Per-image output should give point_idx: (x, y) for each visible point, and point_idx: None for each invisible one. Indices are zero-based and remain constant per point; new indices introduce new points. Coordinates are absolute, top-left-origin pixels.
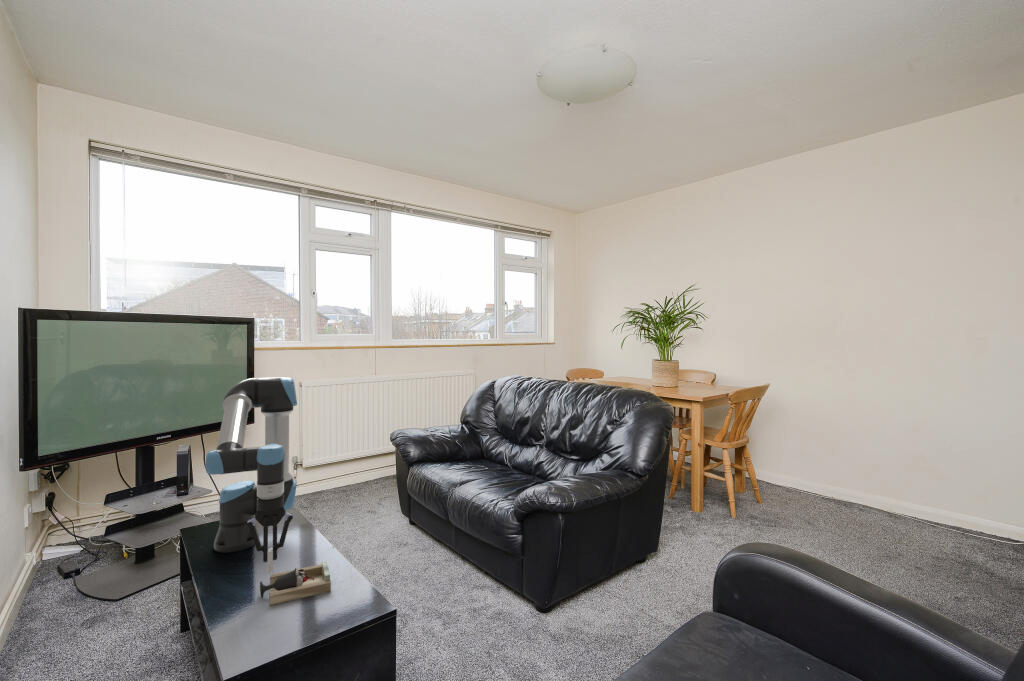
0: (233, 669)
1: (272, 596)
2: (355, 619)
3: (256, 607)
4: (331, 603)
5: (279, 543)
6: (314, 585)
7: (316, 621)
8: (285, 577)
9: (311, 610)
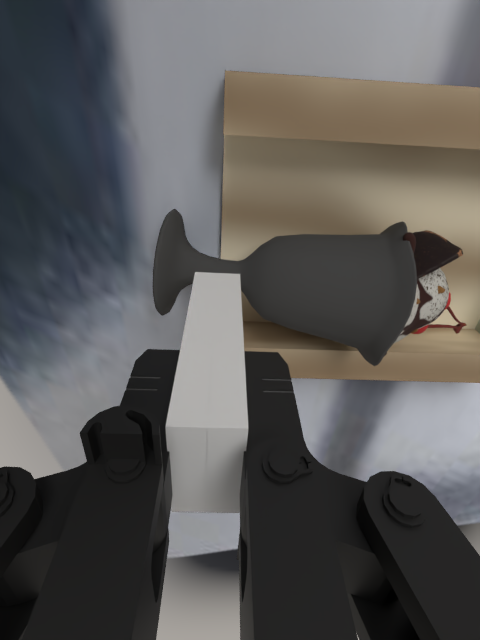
0: None
1: None
2: (447, 512)
3: (159, 326)
4: (436, 425)
5: (353, 587)
6: (433, 378)
7: None
8: (315, 329)
9: (358, 433)
